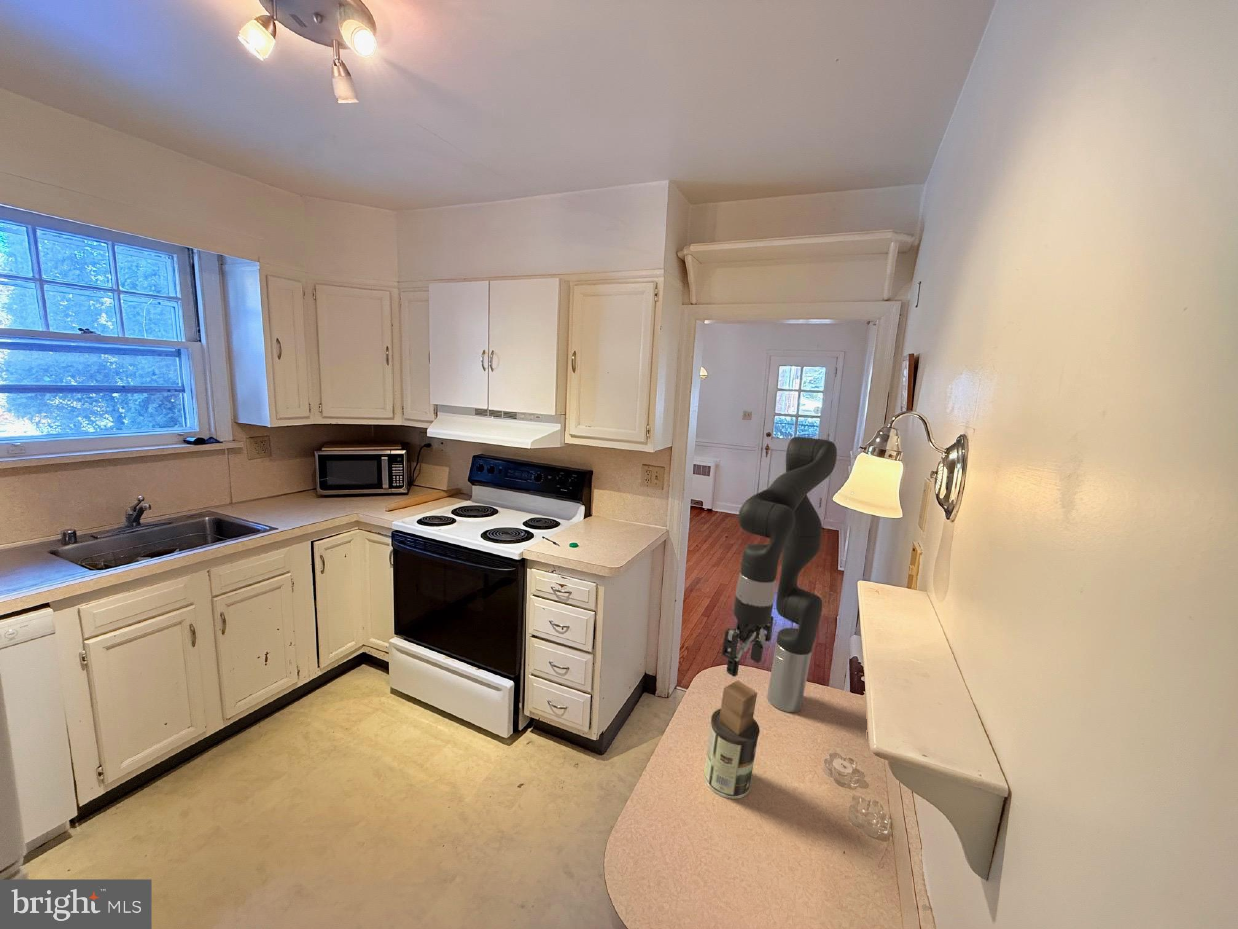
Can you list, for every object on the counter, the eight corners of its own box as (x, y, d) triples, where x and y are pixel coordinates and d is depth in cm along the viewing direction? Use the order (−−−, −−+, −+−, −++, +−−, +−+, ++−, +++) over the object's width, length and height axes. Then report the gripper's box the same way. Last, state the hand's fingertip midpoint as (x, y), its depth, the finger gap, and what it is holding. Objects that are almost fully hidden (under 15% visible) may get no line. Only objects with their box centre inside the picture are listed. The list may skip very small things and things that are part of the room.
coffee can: (744, 763, 113) (753, 709, 110) (755, 802, 103) (765, 743, 100) (699, 759, 113) (707, 705, 110) (706, 797, 103) (715, 738, 100)
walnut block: (732, 712, 109) (737, 680, 107) (751, 725, 105) (757, 692, 103) (719, 721, 105) (723, 688, 104) (738, 735, 102) (743, 701, 100)
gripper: (758, 581, 107) (748, 648, 110) (718, 597, 98) (708, 669, 101) (789, 595, 101) (777, 665, 104) (750, 612, 92) (738, 689, 95)
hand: (743, 667), depth 103 cm, fingers open, 8 cm apart
